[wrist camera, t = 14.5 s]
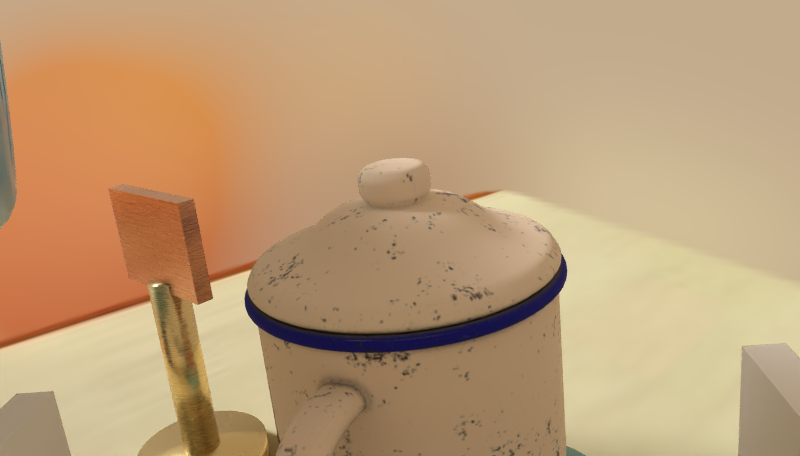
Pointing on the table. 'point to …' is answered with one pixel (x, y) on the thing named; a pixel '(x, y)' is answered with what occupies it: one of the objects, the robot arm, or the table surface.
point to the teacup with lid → (413, 326)
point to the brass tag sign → (179, 322)
